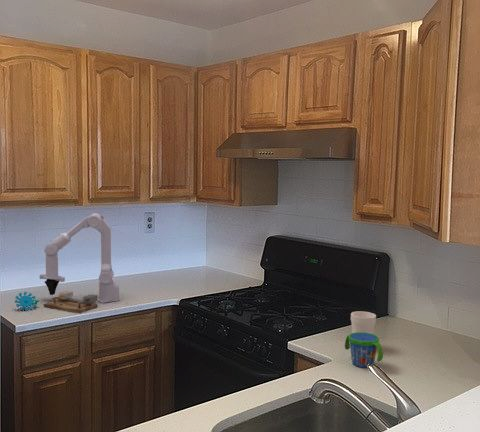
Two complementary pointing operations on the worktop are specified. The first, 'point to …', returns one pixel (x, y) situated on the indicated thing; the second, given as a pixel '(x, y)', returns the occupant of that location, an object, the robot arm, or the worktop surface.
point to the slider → (64, 295)
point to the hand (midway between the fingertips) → (52, 294)
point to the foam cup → (363, 322)
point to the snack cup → (363, 348)
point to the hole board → (69, 306)
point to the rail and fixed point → (86, 300)
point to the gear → (26, 301)
